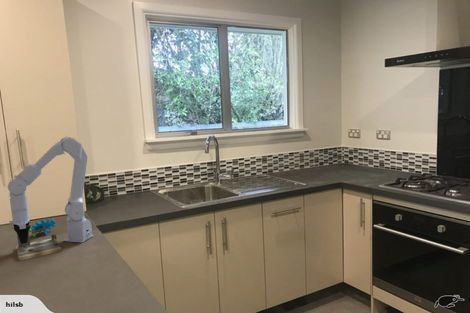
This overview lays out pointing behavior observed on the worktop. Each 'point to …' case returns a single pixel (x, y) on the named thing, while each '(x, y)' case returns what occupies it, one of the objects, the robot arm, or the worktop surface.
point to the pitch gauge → (39, 248)
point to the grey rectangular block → (24, 243)
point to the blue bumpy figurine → (42, 226)
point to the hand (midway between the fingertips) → (23, 241)
